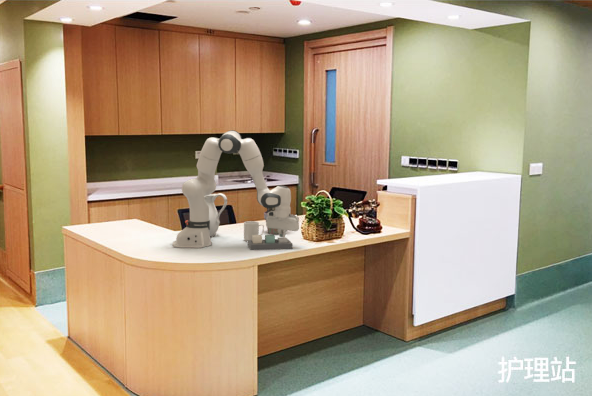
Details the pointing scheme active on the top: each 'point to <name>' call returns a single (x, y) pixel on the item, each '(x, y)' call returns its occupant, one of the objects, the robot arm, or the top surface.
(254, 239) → the key left
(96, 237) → the top surface
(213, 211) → the pitcher
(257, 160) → the robot arm
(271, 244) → the keypad
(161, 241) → the top surface
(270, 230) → the potted plant
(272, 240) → the key mid
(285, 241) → the key right
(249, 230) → the mug
